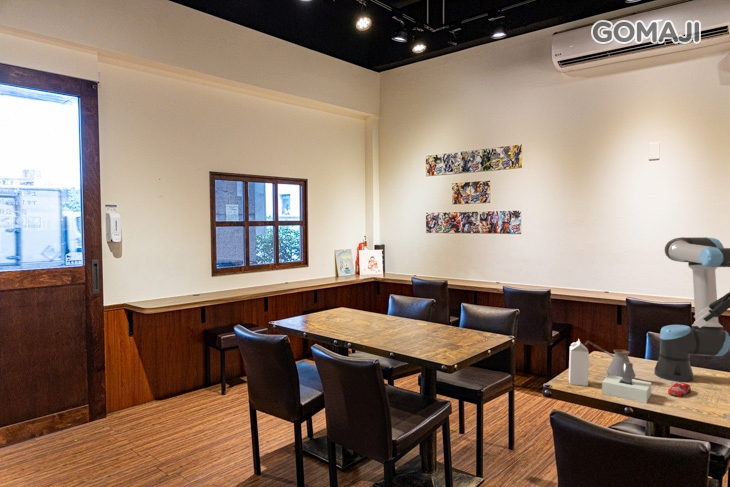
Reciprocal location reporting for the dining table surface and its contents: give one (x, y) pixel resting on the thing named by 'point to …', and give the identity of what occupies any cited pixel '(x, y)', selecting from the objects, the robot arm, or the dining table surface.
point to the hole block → (626, 389)
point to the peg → (627, 373)
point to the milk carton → (578, 364)
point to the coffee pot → (616, 361)
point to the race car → (679, 389)
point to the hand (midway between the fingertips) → (696, 322)
